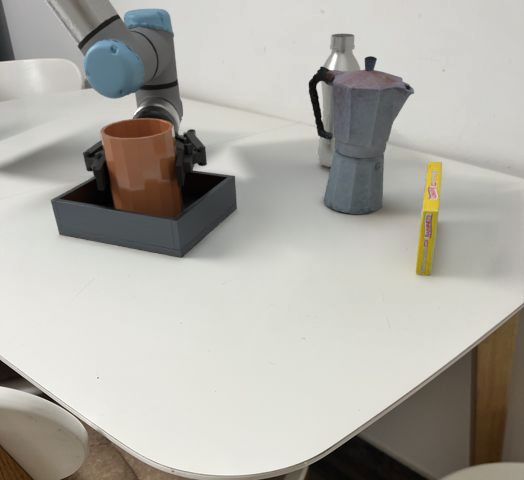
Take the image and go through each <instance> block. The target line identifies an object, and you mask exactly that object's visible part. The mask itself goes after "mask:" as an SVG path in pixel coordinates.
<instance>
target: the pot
mask: <svg viewBox="0 0 524 480" xmlns="http://www.w3.org/2000/svg"><path fill="white" fill-rule="evenodd" d="M99 135H100V140H101V141H102V146H103V151H104V156H105V162H106V167H107V172H108V177H109V182H110V188H111V193H112V198H113V203H114V208H117V209H123V210H129V211H135V212H142V213H148V214H154V215H160V216H166V217H172V218H175V217H176V216H177V215H179V214H180V213H181V212H183V202H182V193H181V186H179V187H178V184H177V175H176V167H175V166H176V160H177V150H176V141H175V133H174V125H173V124H172V123H171V122H169V121H166V120H162V119H154V118H137V119H133V118H129V119H123V120H118V121H115V122H111V123H108V124H107V125H104V126H103V127H102V128H101V129H100V130H99Z"/></svg>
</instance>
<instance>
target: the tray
mask: <svg viewBox="0 0 524 480" xmlns="http://www.w3.org/2000/svg"><path fill="white" fill-rule="evenodd" d="M236 185H237V184H236V175H231V174H225V173H224V174H223V173H217V172H208V171H201V170H194V169H193V171H192V172H188V173H185V180H184V186H181V193H182V202H183V212H181V213H180V214H179V215H177V216H176V217H175V218H172V217H166V216H160V215H154V214H148V213H142V212H135V211H129V210H123V209H117V208H114V203H113V198H112V193H111V188H110V182H109V180H108V182H107V185H106V187H105V189H104V190H101V191H98V187H97V182H96V177H94V176H92V177H90V178H89V179H86V180H85V181H83V182H81V183H79V184H78V185H75V186H73V187H72V188H70V189H68V190H66V191H65V192H63V193H61V194H59V195H57V196H56V197H54V198H51V199H50V205H51V207H52V212H53V215H54V218H55V222H56V226H57V230H58V234H59V235H60V236H61V235H62V236H67V237H73V238H77V239H82V240H88V241H93V242H97V243H104V244H109V245H112V246H113V245H114V246H118V247H125V248H130V249H134V250H140V251H144V252H145V251H146V252H151V253H154V254H155V253H156V254H161V255H167V256H172V257H176V258H182V257H183V256H185V255H186V254H187V253H188V252H189V251H191V249H192V248H194V247H195V246H196V245H197V244H198V243H200V242H201V241H202V240H203V239H204V238H205V237H206V236H207V235H208V234H210V233H211V232H212V231H213V230H214V229H215V228H217V227H218V226H219V225H220V224H221V223H222V222H223V221H225V220H226V218H228V217H229V216H230V215H232V214H233V212H236V210H237V209H238V207H237V205H238V204H237V186H236Z"/></svg>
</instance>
